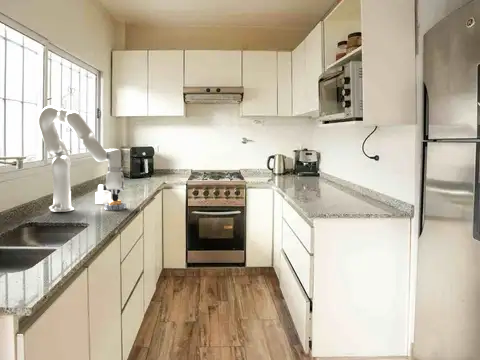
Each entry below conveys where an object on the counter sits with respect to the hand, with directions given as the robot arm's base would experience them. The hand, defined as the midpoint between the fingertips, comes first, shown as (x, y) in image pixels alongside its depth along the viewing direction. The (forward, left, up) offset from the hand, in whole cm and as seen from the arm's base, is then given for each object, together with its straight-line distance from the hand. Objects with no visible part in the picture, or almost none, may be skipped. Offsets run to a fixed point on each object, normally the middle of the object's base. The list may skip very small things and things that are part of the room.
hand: (115, 200), depth 282 cm
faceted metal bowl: (0, 0, -5) cm, 5 cm away
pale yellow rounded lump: (0, 0, -4) cm, 4 cm away
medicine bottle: (+18, +18, -5) cm, 26 cm away
